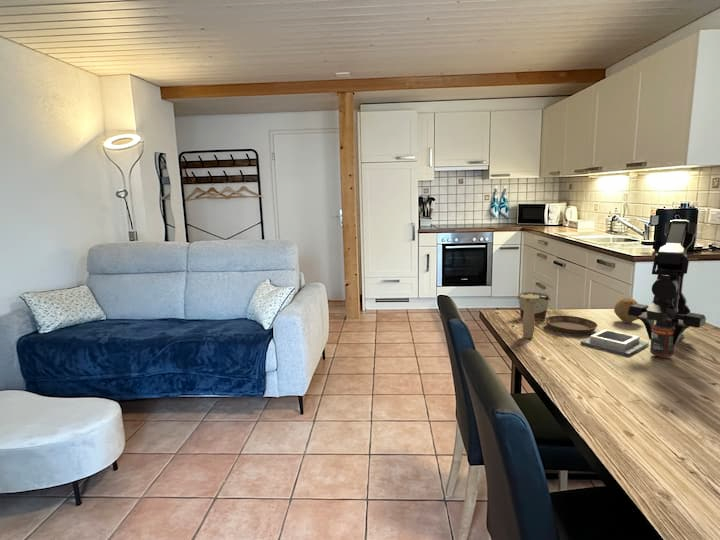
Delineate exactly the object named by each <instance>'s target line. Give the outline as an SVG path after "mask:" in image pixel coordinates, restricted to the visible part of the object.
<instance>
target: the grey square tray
mask: <svg viewBox="0 0 720 540" xmlns="http://www.w3.org/2000/svg"><path fill="white" fill-rule="evenodd" d="M640 338H641V336H640V335H639V336H638V335H633V334H629V333H624V332H621V331H615V330H610V329H608V328H607V329H606V328H605V329H603V330H599V331H598V332H595V333H594V334H592V335H590V337H587V338H585V339H583V340H581V341H580V345H581V344H582V345H583V346H585V345H586V347H591V348H594V349H598V350H601V351H606V352H609V353H613V354H617V355H619V356H626V357H628V358H629V357H631V356H632V355H634V354H637V353H638V352H640V351H641V350H643V349H645V348H647V347H648V346H650V344H649V342H648V341H643V340H641V339H640Z"/></svg>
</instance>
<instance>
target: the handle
mask: <svg viewBox="0 0 720 540" xmlns="http://www.w3.org/2000/svg"><path fill="white" fill-rule="evenodd" d="M520 300H521V301H523V302H524V314H523V318H522V334H523V335H522V336H523V338H525V339H532V338H534V337H533V336H534V331H535V323H536V322H535V320H536V319H535V316H534V305H535V303H536V302H538V301H539V296H535V295H520Z"/></svg>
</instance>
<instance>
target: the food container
mask: <svg viewBox="0 0 720 540" xmlns="http://www.w3.org/2000/svg"><path fill="white" fill-rule="evenodd" d="M520 295H535V296H539V301H538V302H536V303H535V305H534V316H535V320H542V321H543V320H544V321H545V319H546V318H547V312H548V307H549V301H551V298H550V295H549V294H548V293H547V294H546V293H545V292H537V291H536V292H535V291H524V292H523V291H522V292H520V293H519V294H518V295H517V299H518V303H519V314H520V315H519V316H520V319H523V314H524V302H523V301H521V300H520Z"/></svg>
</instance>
